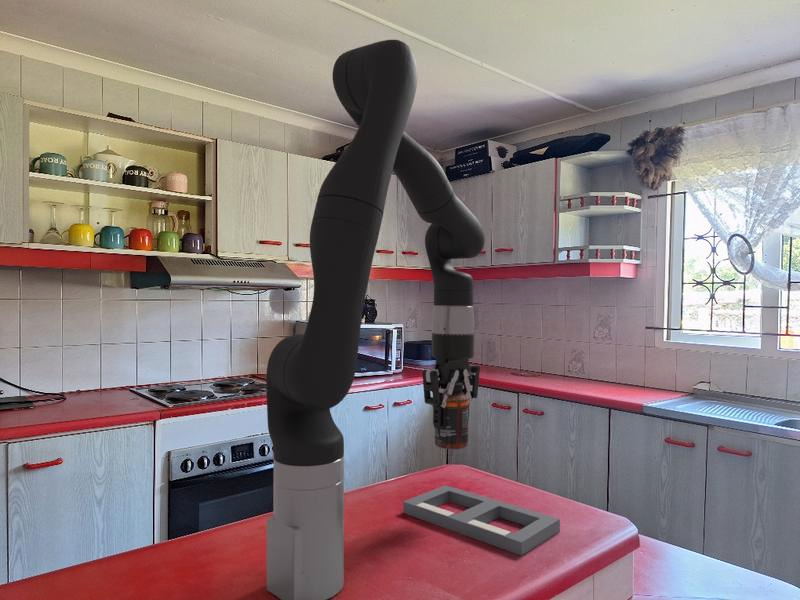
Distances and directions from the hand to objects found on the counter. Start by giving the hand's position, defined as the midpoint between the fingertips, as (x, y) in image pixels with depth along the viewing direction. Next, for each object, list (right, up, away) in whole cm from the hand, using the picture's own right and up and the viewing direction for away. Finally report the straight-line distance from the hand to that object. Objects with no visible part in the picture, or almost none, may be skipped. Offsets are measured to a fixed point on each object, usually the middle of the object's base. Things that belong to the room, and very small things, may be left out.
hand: (451, 425), depth 98 cm
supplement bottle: (0, -4, 0) cm, 4 cm away
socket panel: (+4, -16, -4) cm, 17 cm away
